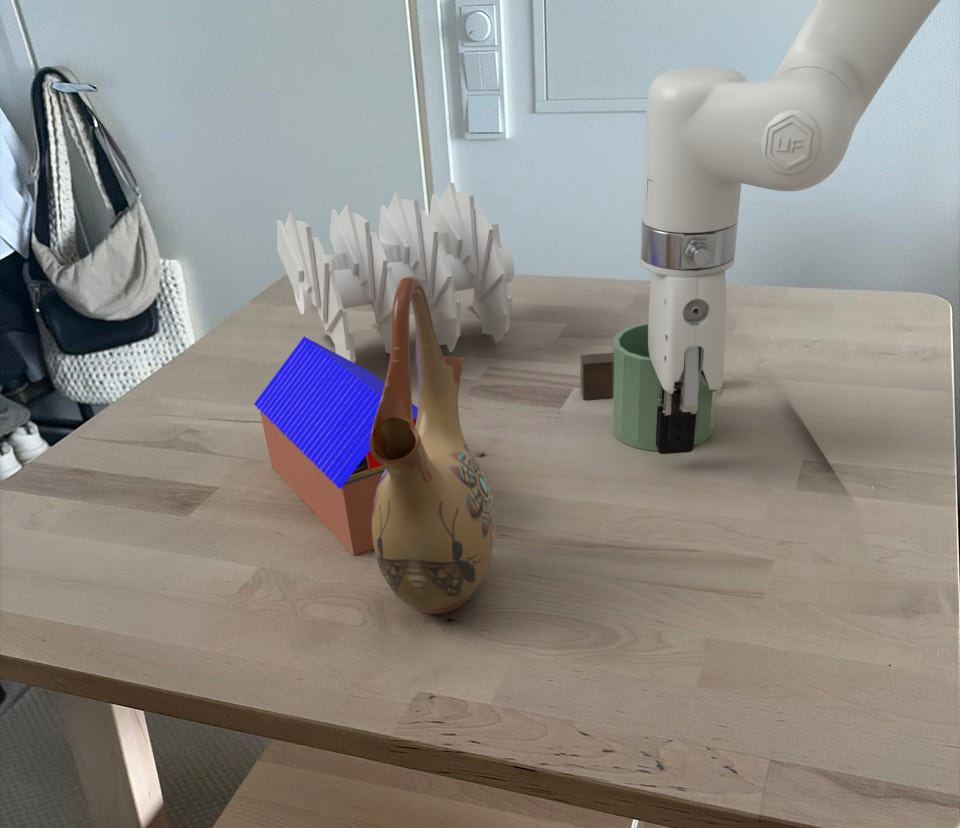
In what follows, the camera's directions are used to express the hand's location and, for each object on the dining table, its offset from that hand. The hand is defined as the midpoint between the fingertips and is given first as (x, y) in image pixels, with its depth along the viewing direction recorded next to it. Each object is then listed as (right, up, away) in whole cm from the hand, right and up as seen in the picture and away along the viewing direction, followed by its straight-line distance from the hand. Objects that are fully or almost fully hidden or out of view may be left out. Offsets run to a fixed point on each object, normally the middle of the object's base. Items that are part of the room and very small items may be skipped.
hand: (674, 448), depth 94 cm
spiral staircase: (-25, +16, +27) cm, 40 cm away
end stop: (0, +9, +15) cm, 17 cm away
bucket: (0, +3, +8) cm, 8 cm away
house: (-28, -4, +2) cm, 29 cm away
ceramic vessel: (-21, -14, -13) cm, 28 cm away
